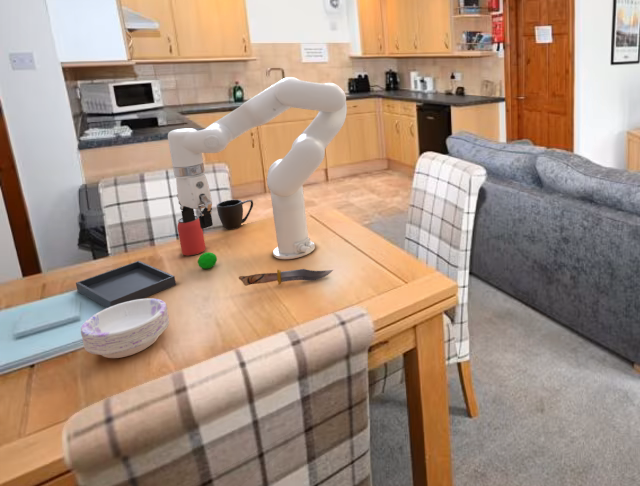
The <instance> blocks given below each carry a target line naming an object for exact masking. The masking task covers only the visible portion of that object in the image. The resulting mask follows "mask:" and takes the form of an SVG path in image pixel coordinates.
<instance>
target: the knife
mask: <svg viewBox="0 0 640 486" xmlns="http://www.w3.org/2000/svg"><path fill="white" fill-rule="evenodd" d="M333 271H334V269H327V270H326V269H325V270H311V269H306V268H301V269H300V268H299V269H292V270H284V271H281V270H280V269H277V272H267V273H265V272H263V273H255V274H251V275H240V276H238V279H239V281H241V282H242V284H243V285H244V286H246V287H247V286H250V285H256V284H257V285H258V284H267V283H273V282H277V283H278V286H280V285H281V284H282V283H285V282H292V281H293V282H294V281H307V282H313V281H319V280H321V279H323V278H325V277H327V276H329V275H330V274H331V273H332V272H333Z"/></svg>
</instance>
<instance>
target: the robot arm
mask: <svg viewBox="0 0 640 486" xmlns="http://www.w3.org/2000/svg"><path fill="white" fill-rule="evenodd" d="M291 108H293V109H294V108H296V109H301V110H310V111H318V113H317V114H316V116H315V117H314V118H313V120H312V121H311V122H310V123H309V124H308V126H307V127H306V128H305V129H304V130H303V131H302V132H301V133H300V134H299V135H298V136H297V137H296V138H295V139H294V140H293V142H292V144H291V148H290V150H289V151H288V152H287V153H286V155H284V157H283V158H278V159H277V160H275V161H274V162H272V163H271V164H270V166H269V167H268V170H267V175H266V176H267V178H266V185H267V188H268V189H269V191H270V198H271V206H272V216H273V221H274V230H275V235H276V243H277V247H275V248H274V249H273V251H272V254H273V257H274V258H276V259H278V260H293V259H298V258H302V257H304V256H307V255H309V254H310V253H312V252H313V251H314V250H315V247H316V245H315V243H314V241H312V240H311V238H310V237H309V229H308V228H309V227H308V219H307V213H306V203H305V194H304V184H305V183H306V182H307V181H308V180H309V179H310V178H311V177H312V175H313V174H314V173H315V172H316V171H317V169H319V167H320V165H322V163H323V161H324V159H325V155H326V151H325V150H326V148H327V147H328V146H329V145H330V143H332V141H333V140H334V139H335V137H336V136H337V135H338V134H339V132H340V131H341V130H342V128H343V126H344V124H345V121H346V119H347V112H348V105H347V95H346V93H345V91H344V89H343V88H342V87H341V86H339V85H338V84H336V83H334V82H325V83H320V82H313V81H308V80H307V81H306V80H302V79H299V78H296V77H294V76H287V77H284V78H282V79H280V80H279V81H277V82H275V83H273V84H271V86H269V87H267V88H266V89H264V90H262V91H260V92H259V93H258V94H256V95H254V96H253V97H251V98H249V99H248V100H246V101H245V102H243V103H241V105H240V106H238V107H237V108H235V109H233V110H232V111H231V112H229V113H227V114H225V115H224V116H222V117H221V118H219V119H217V120H215V121H214V122H213V123H211V124H209V125H208V126H206V127H205V128H204V129H200V130H199V129H198V130H197V129H195V128H189V127H188V128H187V127H185V128H177V129H176V128H175V129H173V130H170V131H169V132H168V133H167V141H168V148H169V153H170V158H171V164H172V170H173V171H172V172H173V176H174V178H175V181H176V193H177V194H176V198H177V200H178V205H179V210H180V213H181V218H183V223H187V222H190V221H194V220H195V216H196V215H195V210H197V212H198V218H199V221H200V227H201V229H202V230H204V229H208V228H210V227H213V225H214V222H213V217H212V214H213V213H212V211H213V208H212V207H213V200H212V195H211V189H210V185H209V182H208V179H207V176H206V170H205V165H204V159H203V158H204V157H203V154H218V153H222V151H224V150H225V149H226V148H227V147H228V146H229V143H231V142H232V141H234V140H236V139H238V137H240V136H242V135H243V134H245V133H247V132H248V131H250V130H252V129H254V128H257V127H260V126H264V125H266V124H268V123H269V122H271V121H272V120H274V119H276V118H277V117H279V116H280V115H282V114H284V113H285V112H286V111H288V110H289V109H291Z"/></svg>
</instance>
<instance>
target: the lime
mask: <svg viewBox="0 0 640 486" xmlns="http://www.w3.org/2000/svg"><path fill="white" fill-rule="evenodd" d="M217 257H218V256H216V254H215V253H214V252H207V251H206V252H204V253H202V254H201V255H199V257H198V260H197V266H199V267H200V268H201V269H203V270H209V269H211V268H213V267H214V266H216V264H217V261H218V258H217Z"/></svg>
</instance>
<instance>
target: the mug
mask: <svg viewBox="0 0 640 486" xmlns="http://www.w3.org/2000/svg"><path fill="white" fill-rule="evenodd" d="M249 202H250V205H249V209H248V211H247V213H246V214H245V216H244V215H243V214H244V209H243V207H244V206H243V205H244V204H246V203H249ZM253 207H254V201H253V199H247V200H243V201H242V199H228V200H223V201H220V202H219V203H217V204H216V210H217V211H216V212H217V215H218V218H219V221H220V223H221V224H222V226H223V229H225V230H235V229H239V228H240V227H241V226H242V224H244V223H245V222H246V221H247V219H248V217H249V216H250V214H251V212H252V210H253Z"/></svg>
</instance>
